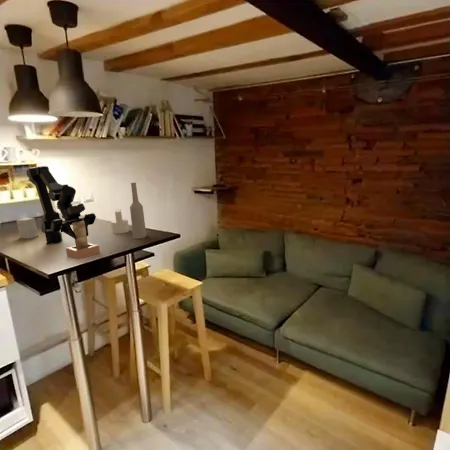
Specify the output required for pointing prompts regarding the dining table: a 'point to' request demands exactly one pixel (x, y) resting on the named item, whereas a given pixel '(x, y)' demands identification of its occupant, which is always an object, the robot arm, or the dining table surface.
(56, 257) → the dining table surface
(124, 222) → the base with upright slab
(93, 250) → the socket
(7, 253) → the dining table surface
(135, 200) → the bottle
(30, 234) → the small box
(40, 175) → the robot arm
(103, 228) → the dining table surface
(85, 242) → the peg
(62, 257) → the dining table surface
